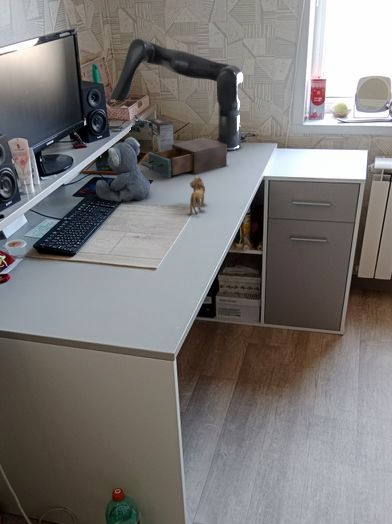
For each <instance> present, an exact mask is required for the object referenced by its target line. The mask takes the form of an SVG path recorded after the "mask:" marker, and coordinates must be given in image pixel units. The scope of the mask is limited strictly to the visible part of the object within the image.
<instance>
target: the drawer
mask: <svg viewBox="0 0 392 524" xmlns="http://www.w3.org/2000/svg"><path fill="white" fill-rule="evenodd" d="M147 157H148V158H147V159H148V161H141V162H140V165H141V166H142V167H144V168H147V169H148V170H149V171H151V172H153V173H156V174H158V175H161V176H163V177H165V178H168V179H170V178H172V176H177V175H180V174H183V173H187V172H188V171H191V170H193V153H190V152H187V151H184V150H181V149H178V148H172V149H167V150H163V151H159V152H155V154H154V153H153V151H152V152H150V151H149V152H147ZM188 173H189V172H188Z"/></svg>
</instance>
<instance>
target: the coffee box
mask: <svg viewBox="0 0 392 524" xmlns="http://www.w3.org/2000/svg"><path fill="white" fill-rule="evenodd" d="M150 129H151V143H152V144H151V145H152V153H154V154H155V152H159V151H163V150H167V149H172V144H174V123H173V122H172V121H170V120H168V119H166V118H165V117H163V118H162V117H161V118H153V119H151V128H150Z"/></svg>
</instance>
